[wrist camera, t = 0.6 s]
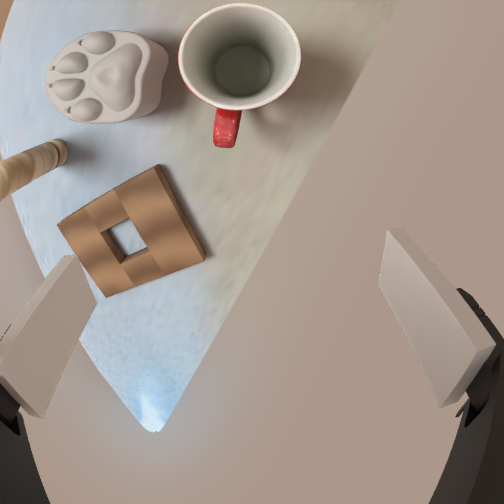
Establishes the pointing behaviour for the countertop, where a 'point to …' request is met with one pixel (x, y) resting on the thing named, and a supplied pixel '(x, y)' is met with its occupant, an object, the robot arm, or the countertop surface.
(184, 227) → the seat board
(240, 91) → the mug
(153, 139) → the countertop surface
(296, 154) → the countertop surface
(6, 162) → the leg
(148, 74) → the lumpy-topped squat cylinder
